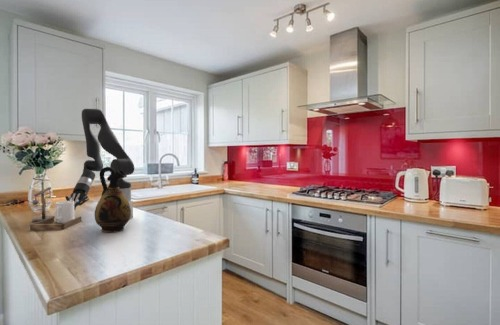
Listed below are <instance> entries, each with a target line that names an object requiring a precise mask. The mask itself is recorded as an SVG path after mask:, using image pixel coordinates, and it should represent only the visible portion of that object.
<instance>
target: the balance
mask: <svg viewBox="0 0 500 325" xmlns="http://www.w3.org/2000/svg"><path fill="white" fill-rule="evenodd" d="M51 190H52V187H50V186H49V187H47V188H45V189H42V190H40V191H38V192H36V193H34V194H33V196H34V198H35V199H34V200H33V199H32V203H30V204H28V207H39V206H41V216H39V217H36V218H33V219H32V220H31V221H32V222H33V223H37V222H40V221H43V220H45V219H48V218H51V217H54V219H55V216H54V215H46V199H55V198H57V195H47V196H46V192H48V191H49V194H51ZM38 196H40V199H41V202H40V200H39V199H37V197H38Z"/></svg>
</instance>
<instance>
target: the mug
mask: <svg viewBox="0 0 500 325" xmlns="http://www.w3.org/2000/svg"><path fill="white" fill-rule="evenodd" d="M54 209H55V210H54V215H53V216H55V218H54V220H55V222H56V224H63V223H65V222H68V221H70V220H73V219H75V218H76V216H75V214H76V213H75V211H74V201H71V200H70V201H67V200H61V201H57V202H54Z"/></svg>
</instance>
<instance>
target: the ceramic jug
mask: <svg viewBox="0 0 500 325" xmlns="http://www.w3.org/2000/svg"><path fill="white" fill-rule="evenodd" d="M106 172H110V174H109V175H108V177H107V179H106V178H105V173H106ZM127 177H128V175H126V174H125V173H124V172H123V171H122V170H121V171H118V170H117V171H116V172H115V170H114V169H113V168H111V167H110V166H105V167H103V169H102V170H101V171H99V181H100V183H101V186H102V189H103V190H102V192H101V197H100V198H99V200H98V202H97V204H96V206H95V209H94V220H95V221H94V222H95V223H96V225H98V226H99V227H100V228H101V231H102V232H103V233H110V234H111V233H117V232H122V231H124V229H125V226H126V225H127V223H129V221H130V220H131V218H130V216H131V209H130V205H129V202H128V200H127V198H126V196H125V195H124V193H123V192H122V191H121V190H120V188H119V187H118V181H119V180H120V179H122V178H123V179H125V178H127ZM106 181H109V184H108V185H107V182H106Z"/></svg>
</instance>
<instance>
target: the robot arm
mask: <svg viewBox="0 0 500 325" xmlns="http://www.w3.org/2000/svg"><path fill="white" fill-rule="evenodd" d="M81 121H82V127H83V132H84V137H85V138H84V139H85V144H86V145H85V147H86V156H87V157H88V158H90V159H86V160H85V161H84V162H83V168H82V174H81V176H80V177H79V179H78V180H77V182H76V184H75V186H74V188H73V190H72V193H71V194H70V195H69V196H67V195H65V198H64V199H65V201H74V212H75V210H76V208H77V207H78V206H82V205H83V204H85V203H87V202H88V201H89V200H90V197H89V196H88V194H89V192H90V190H91V188H92V184H93V182H94V180H95V178H96V173H95V172H100V171H101V170H102V169H103V168H104V163H103V160H102V157H101V153H100V151H101V150H100V148H102V149H103V150H104V151H105V152H106V153H108V154H110V155H111V156H113V157H114V159H112V160H111V162H110V166H109V167H111V168H113V169H114V170H115V172H116V171H117V170H118V171H121V170H122V171H123V172H124V173H125V174H126V175H127V176H129V175H132V174H133V173H135V164H134V162H133V160H132V158H131V157H130V156H129V154H128V153H127V152H126V151H125V150H124V148H123V146H122V145H121V143H120V142H119V140H118V138H117V136H116V135H115V133H114V131H113V130H112V129H111V126H110V124H109V122H108V121H107V118H106V115H105V114H104V112H103V111H102V110H101V109H99V108H83V109H82V110H81ZM91 125H99V127H100V129H99V132H98V134H97V137H96V136H95V134H94V133H93V131H92V129H91ZM91 158H92V159H91ZM118 187H119V188H120V190H121V191H122V192H123V193H124V195H125V196H126V198H127V200H128V202H129V205H130V209H131V216H130V219H132V218H133V217H134V207H133V206H134V204H133V203H134V202H133V199H132V184H131V182H130V181H127V180H125V179H124V178H122V179H120V180H119V181H118Z"/></svg>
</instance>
